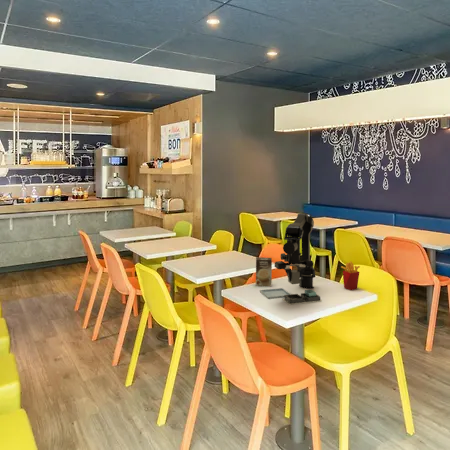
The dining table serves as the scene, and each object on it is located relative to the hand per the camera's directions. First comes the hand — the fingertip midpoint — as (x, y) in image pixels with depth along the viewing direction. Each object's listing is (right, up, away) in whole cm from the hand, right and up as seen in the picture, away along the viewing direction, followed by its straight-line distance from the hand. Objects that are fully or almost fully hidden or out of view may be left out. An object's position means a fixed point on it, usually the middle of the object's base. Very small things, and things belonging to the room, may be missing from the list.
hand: (293, 280), depth 216 cm
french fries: (+34, -8, +24) cm, 42 cm away
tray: (-8, -9, +14) cm, 18 cm away
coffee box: (-12, -7, +32) cm, 35 cm away
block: (0, -1, 0) cm, 1 cm away
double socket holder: (+5, -11, +3) cm, 12 cm away
